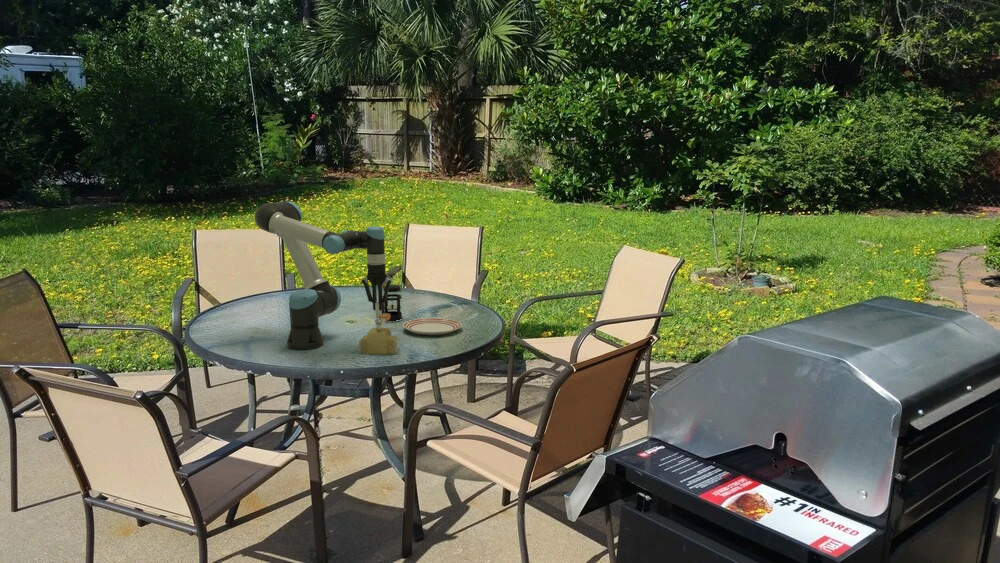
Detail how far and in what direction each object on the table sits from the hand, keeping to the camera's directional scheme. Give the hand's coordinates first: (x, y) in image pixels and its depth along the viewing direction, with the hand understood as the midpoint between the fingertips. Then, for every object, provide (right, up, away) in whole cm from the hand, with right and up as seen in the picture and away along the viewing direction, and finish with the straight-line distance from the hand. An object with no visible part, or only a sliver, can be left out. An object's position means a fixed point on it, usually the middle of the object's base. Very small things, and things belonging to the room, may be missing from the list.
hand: (378, 317), depth 317 cm
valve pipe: (+2, -14, -7) cm, 16 cm away
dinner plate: (+21, -8, +27) cm, 34 cm away
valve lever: (+2, -4, -3) cm, 5 cm away
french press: (-1, -4, +45) cm, 45 cm away
